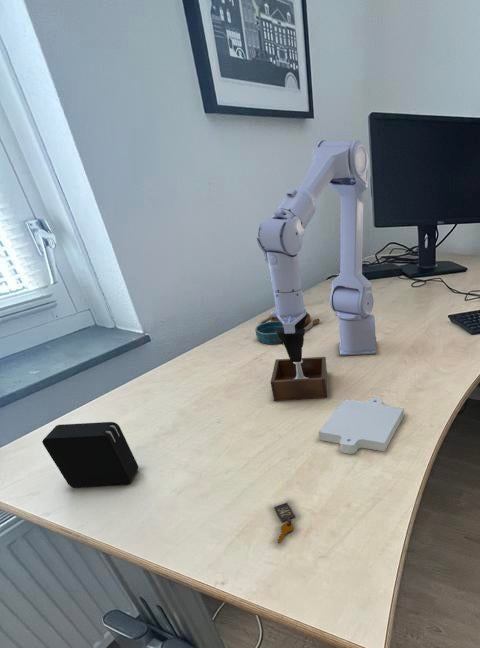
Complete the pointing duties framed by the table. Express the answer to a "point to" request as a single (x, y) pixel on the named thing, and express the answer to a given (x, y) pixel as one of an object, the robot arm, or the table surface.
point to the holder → (299, 388)
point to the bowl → (269, 332)
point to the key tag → (284, 518)
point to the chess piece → (299, 371)
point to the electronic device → (91, 454)
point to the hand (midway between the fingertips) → (297, 354)
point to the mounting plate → (362, 425)
